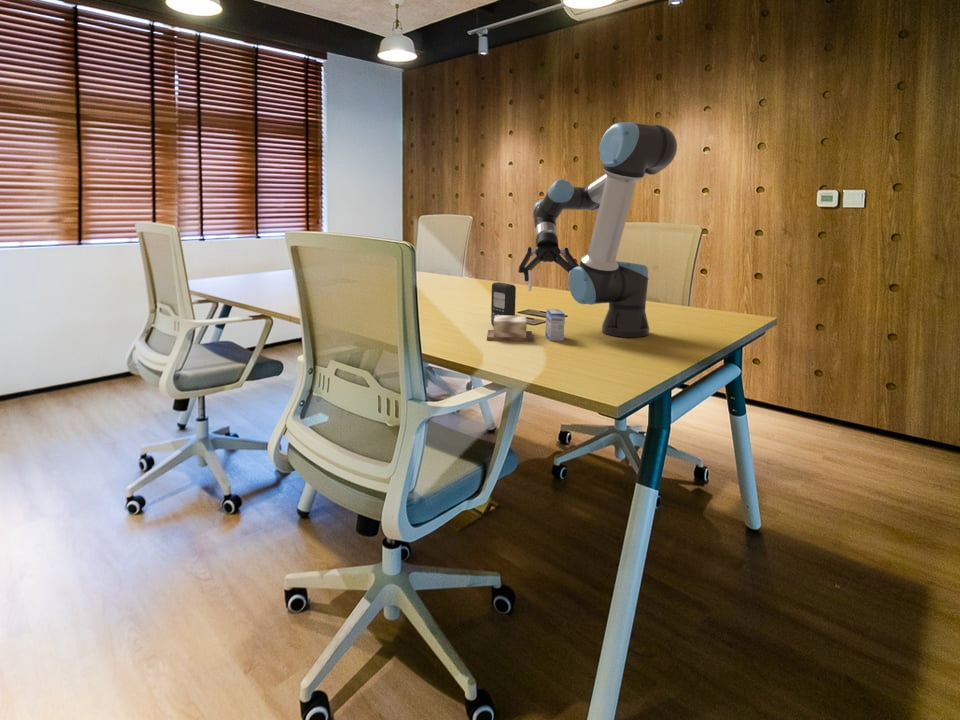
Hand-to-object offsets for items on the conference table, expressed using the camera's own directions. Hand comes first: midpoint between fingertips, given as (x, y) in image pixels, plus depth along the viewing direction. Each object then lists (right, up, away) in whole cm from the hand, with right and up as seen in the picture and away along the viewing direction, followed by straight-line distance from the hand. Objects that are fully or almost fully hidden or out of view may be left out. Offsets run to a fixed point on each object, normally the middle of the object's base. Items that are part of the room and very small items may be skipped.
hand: (551, 288), depth 196 cm
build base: (-14, -16, -6) cm, 22 cm away
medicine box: (0, -17, -6) cm, 18 cm away
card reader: (-16, -12, +9) cm, 22 cm away
